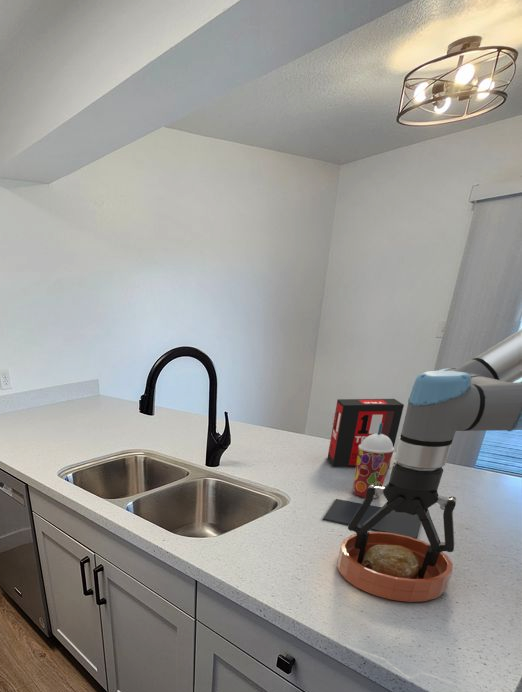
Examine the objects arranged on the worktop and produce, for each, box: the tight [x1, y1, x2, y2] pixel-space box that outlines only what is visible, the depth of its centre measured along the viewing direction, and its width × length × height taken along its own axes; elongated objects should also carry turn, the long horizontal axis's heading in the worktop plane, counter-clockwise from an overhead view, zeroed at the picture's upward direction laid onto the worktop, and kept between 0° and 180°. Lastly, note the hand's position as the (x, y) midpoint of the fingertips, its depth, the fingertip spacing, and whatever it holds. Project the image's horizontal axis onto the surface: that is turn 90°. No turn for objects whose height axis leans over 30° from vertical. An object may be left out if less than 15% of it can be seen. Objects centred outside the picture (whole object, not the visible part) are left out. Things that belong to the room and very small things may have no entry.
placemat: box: [322, 498, 421, 539], centre depth 109 cm, size 20×14×1 cm
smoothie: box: [352, 423, 395, 499], centre depth 117 cm, size 8×8×20 cm
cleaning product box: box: [327, 398, 405, 469], centre depth 140 cm, size 16×9×20 cm, turn 77°
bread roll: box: [362, 545, 421, 579], centre depth 86 cm, size 10×10×8 cm
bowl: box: [336, 531, 454, 603], centre depth 86 cm, size 19×19×5 cm
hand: (389, 569), depth 87 cm, fingers closed on bread roll, 10 cm apart
